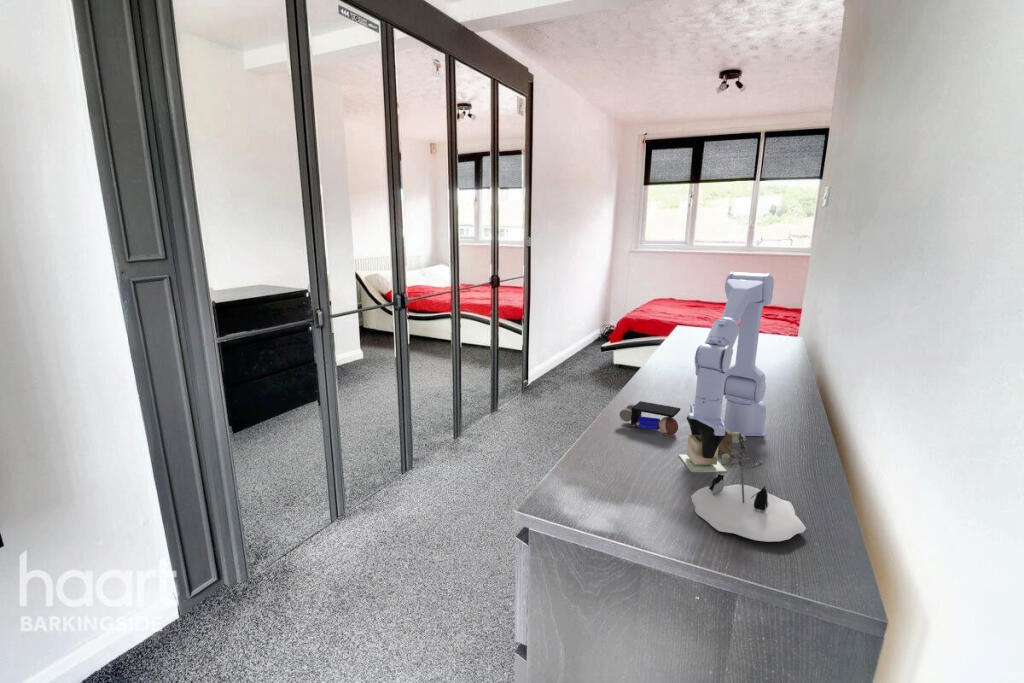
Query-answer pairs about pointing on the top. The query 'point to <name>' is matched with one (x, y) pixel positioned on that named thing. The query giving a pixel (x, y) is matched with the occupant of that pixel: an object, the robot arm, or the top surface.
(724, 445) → the brown piece
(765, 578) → the top surface
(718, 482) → the figurine
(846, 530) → the top surface
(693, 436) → the letter cube
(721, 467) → the pad
